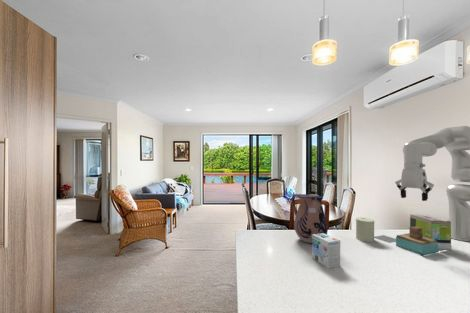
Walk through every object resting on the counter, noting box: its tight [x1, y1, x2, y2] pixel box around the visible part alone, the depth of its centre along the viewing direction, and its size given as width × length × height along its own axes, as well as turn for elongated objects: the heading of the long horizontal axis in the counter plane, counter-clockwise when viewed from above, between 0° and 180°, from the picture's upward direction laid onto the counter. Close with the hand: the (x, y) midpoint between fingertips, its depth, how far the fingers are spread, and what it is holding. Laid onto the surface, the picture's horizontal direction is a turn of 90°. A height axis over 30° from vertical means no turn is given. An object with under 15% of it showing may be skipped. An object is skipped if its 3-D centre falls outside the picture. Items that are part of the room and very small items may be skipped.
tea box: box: [409, 213, 452, 251], centre depth 120 cm, size 15×10×15 cm
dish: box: [395, 236, 439, 257], centre depth 113 cm, size 12×12×5 cm
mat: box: [374, 234, 396, 244], centre depth 127 cm, size 10×10×1 cm
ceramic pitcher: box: [290, 193, 329, 244], centre depth 125 cm, size 18×21×25 cm
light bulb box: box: [311, 233, 341, 269], centre depth 98 cm, size 11×7×11 cm, turn 19°
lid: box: [396, 226, 437, 245], centre depth 113 cm, size 12×12×6 cm
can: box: [355, 217, 375, 243], centre depth 126 cm, size 9×9×12 cm
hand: (413, 199), depth 116 cm, fingers open, 9 cm apart
